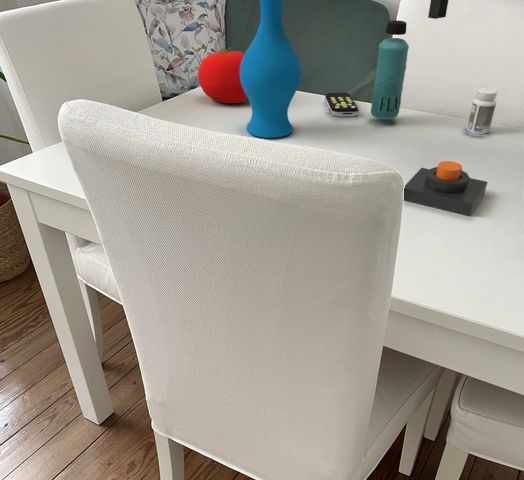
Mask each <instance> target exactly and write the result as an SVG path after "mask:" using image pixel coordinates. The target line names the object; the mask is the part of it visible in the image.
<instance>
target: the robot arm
mask: <svg viewBox="0 0 524 480" xmlns="http://www.w3.org/2000/svg"><path fill="white" fill-rule="evenodd" d="M448 5H449V0H430V2H429V8H428V15H427V19H434V20H437V19H443V18H446V17H447V10H448Z"/></svg>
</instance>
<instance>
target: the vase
mask: <svg viewBox="0 0 524 480" xmlns="http://www.w3.org/2000/svg"><path fill="white" fill-rule="evenodd" d="M259 4H260V5H259V6H260V22H259V26H258V29H257V31H256V34H255V37H254V38H253V40H252V42H251V44H250V45H249V47H248V48H247V49H246V51H245V52H244V54H245V55H244V57H243V59H242V61H241V65H240V80H241V84H242V87H243V89H244V91H245V93H246V95H247V97H248V98H247V100H248V101H249V104H250V107H251V117H250V121H249V122H248V123H247V124H246V127H245V130H246V131H247V133H249V134H250V135H252V136H255V137H258V138H263V139H265V138H266V139H276V138H282V137H286V136H288V135H290V134H291V133H292V132H293V131H294V127H293V124H292V123H291V121H290V120H289V115H288V113H289V112H288V111H289V107H290V105H291V102H292V100H293V98H294V96H295V94H296V93H297V90H298V88H299V86H300V82H301V79H302V66H301V62H300V59H299V56H298V54H297V52H296V51H295V49H294V47H293V46H292V45H291V43H290V40H289V39H288V37H287V35H286V33H285V32H286V31H285V30H284V26H283V20H282V19H283V18H282V10H283V4H284V0H259Z"/></svg>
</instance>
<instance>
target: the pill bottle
mask: <svg viewBox="0 0 524 480" xmlns="http://www.w3.org/2000/svg"><path fill="white" fill-rule="evenodd" d="M497 95H498V90H496V89H494V88H492V87H480V88H477V91H476V94H475V98H474V99H473V100H472V104H471V108H470V114H469V117H468V122H467V125H466V130H467V131H468V132H470V133H472V134H474V135H475V134H476V135H485V134H487V133H489V132H490V129H491V125H492V121H493V117H494V113H495V109H496V105H497V100H496V98H497Z"/></svg>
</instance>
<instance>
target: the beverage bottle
mask: <svg viewBox="0 0 524 480" xmlns="http://www.w3.org/2000/svg"><path fill="white" fill-rule="evenodd" d="M385 34H388V35H392V36H393V35H394V36H403V35H406V34H407V22H406V21H404V20H397V19H395V20H389V21H387V24H386V29H385ZM409 49H410V46H409V44H408V42H407V41H406V40H405V39H404V38H399V37H388V38H384V39H383V41H381V42H380V43H379V45H378V54H377V61H376V70H375V77H374V83H373V92H372V97H371V100H372V101H371V106H370V107H371V108H370V114H371V116H372V117H374V118H377V119H382V120H392V119H395V118H397V117H398V116H399V114H400V108H401V104H402V93H403V90H404V82H405V76H406V70H407V62H408V59H409V58H408V55H409V54H408V53H409Z"/></svg>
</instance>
